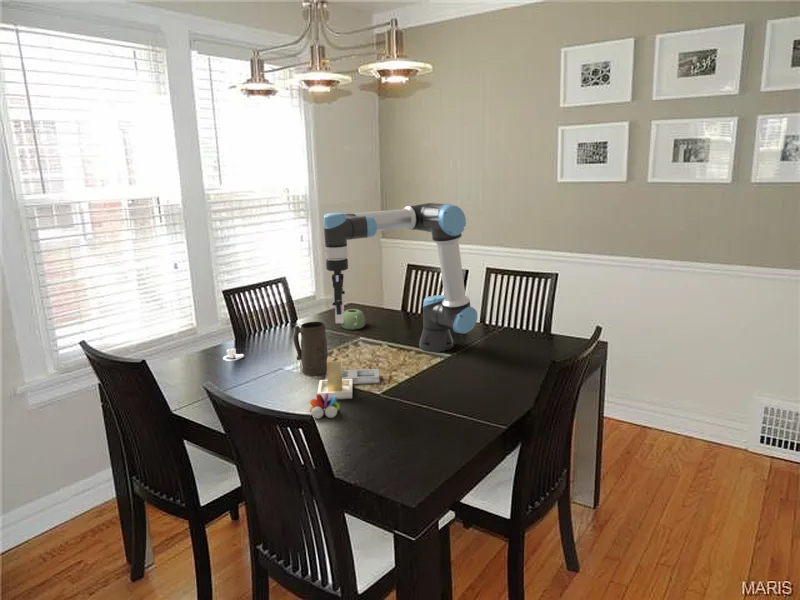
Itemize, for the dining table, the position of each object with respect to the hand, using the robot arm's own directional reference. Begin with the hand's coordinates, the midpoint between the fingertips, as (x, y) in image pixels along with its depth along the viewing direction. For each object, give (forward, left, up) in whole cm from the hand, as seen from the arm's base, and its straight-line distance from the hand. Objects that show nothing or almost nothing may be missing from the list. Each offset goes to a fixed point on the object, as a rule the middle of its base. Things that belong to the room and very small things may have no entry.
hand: (339, 317), depth 192 cm
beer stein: (+13, -19, -27) cm, 35 cm away
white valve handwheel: (+47, -34, -27) cm, 64 cm away
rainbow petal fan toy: (+5, +21, -27) cm, 35 cm away
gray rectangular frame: (-4, -7, -27) cm, 28 cm away
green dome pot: (-4, -75, -27) cm, 79 cm away
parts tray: (+2, +4, -27) cm, 27 cm away
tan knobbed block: (+2, +4, -26) cm, 27 cm away
